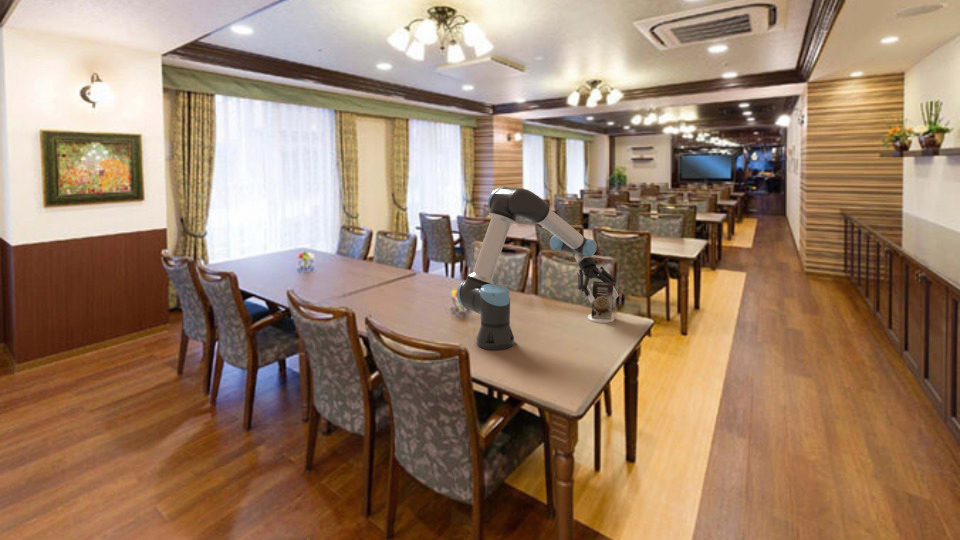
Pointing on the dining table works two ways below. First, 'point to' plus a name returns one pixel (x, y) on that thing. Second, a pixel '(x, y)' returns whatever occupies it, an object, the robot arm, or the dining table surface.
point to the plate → (601, 319)
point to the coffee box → (602, 300)
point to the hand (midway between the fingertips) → (605, 299)
